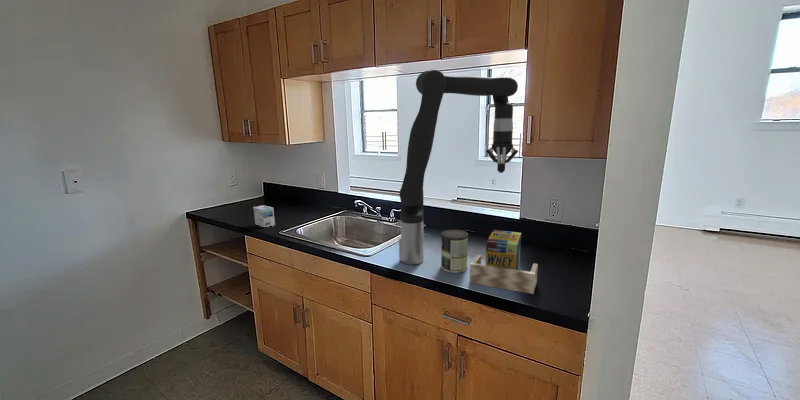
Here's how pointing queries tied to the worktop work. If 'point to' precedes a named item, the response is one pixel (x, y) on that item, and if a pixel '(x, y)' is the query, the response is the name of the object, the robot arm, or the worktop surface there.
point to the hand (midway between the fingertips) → (501, 172)
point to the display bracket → (503, 276)
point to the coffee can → (454, 250)
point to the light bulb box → (264, 216)
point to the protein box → (503, 249)
